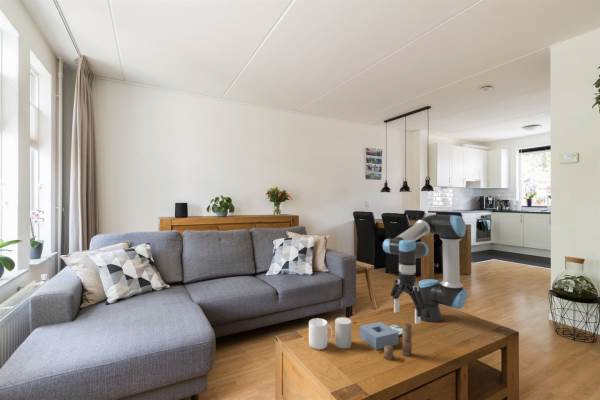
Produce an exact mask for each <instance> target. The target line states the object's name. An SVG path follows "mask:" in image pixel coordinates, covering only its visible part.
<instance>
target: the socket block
mask: <svg viewBox="0 0 600 400" xmlns="http://www.w3.org/2000/svg"><path fill="white" fill-rule="evenodd" d="M399 335H400V334H399V332H398V331H396V330H395V329H394V328H392V327H390V326H389V325H387V324H386V323H384V322H383V321H377V322H372V323H367V324H362V325H359V338H360V339H361V340H363V341H364V342H365V343H366V344H368V345H369V346H370V347H372V348H373V349H374V350H376V351H377V350H382V349H384V346H385V345H390V346H392V347H393V346H394V347H395V346H397V345H399V340H400V339H399Z"/></svg>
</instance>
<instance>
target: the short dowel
mask: <svg viewBox="0 0 600 400" xmlns="http://www.w3.org/2000/svg"><path fill="white" fill-rule="evenodd" d="M383 351H384V352H383V358H384V359H385V360H387V361H393V360H394V347H393V346H390V345H385V346H384V348H383Z"/></svg>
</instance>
